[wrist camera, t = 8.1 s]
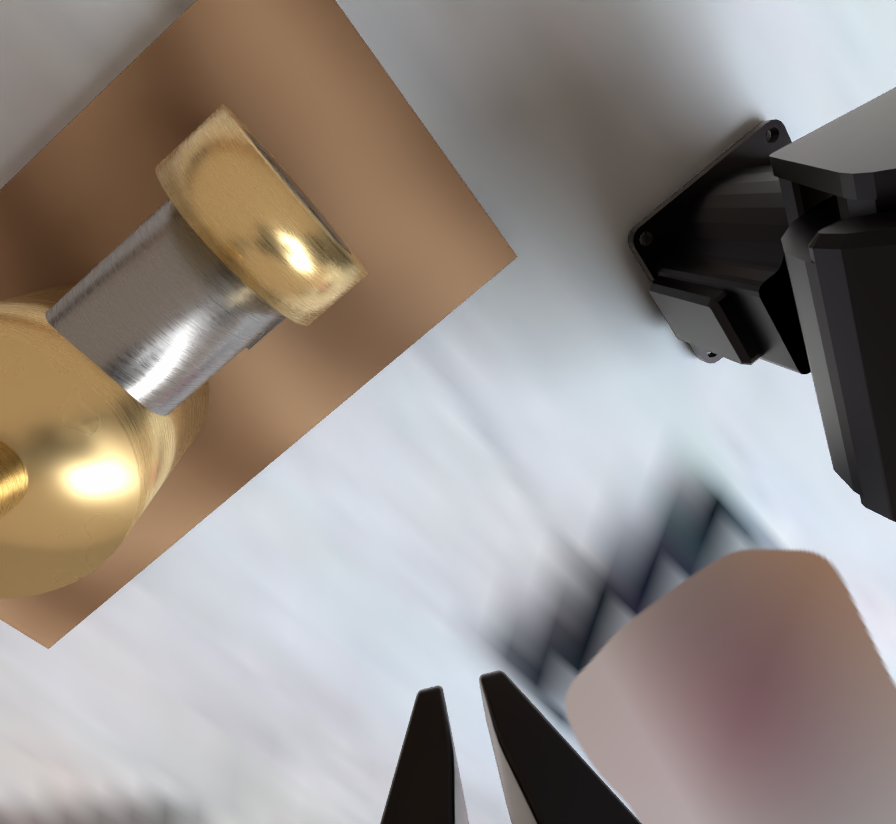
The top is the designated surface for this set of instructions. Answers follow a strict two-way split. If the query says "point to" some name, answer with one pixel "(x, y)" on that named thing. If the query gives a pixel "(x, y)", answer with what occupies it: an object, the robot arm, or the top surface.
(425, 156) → the valve board
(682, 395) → the top surface
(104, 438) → the valve body
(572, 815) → the robot arm
